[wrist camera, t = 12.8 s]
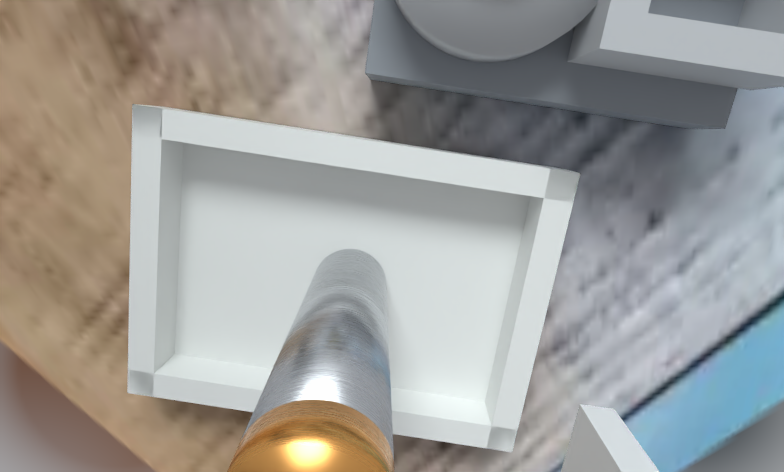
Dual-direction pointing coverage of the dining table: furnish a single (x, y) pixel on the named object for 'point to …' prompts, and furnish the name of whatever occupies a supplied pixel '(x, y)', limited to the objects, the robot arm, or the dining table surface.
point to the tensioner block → (586, 53)
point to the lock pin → (328, 379)
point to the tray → (330, 234)
